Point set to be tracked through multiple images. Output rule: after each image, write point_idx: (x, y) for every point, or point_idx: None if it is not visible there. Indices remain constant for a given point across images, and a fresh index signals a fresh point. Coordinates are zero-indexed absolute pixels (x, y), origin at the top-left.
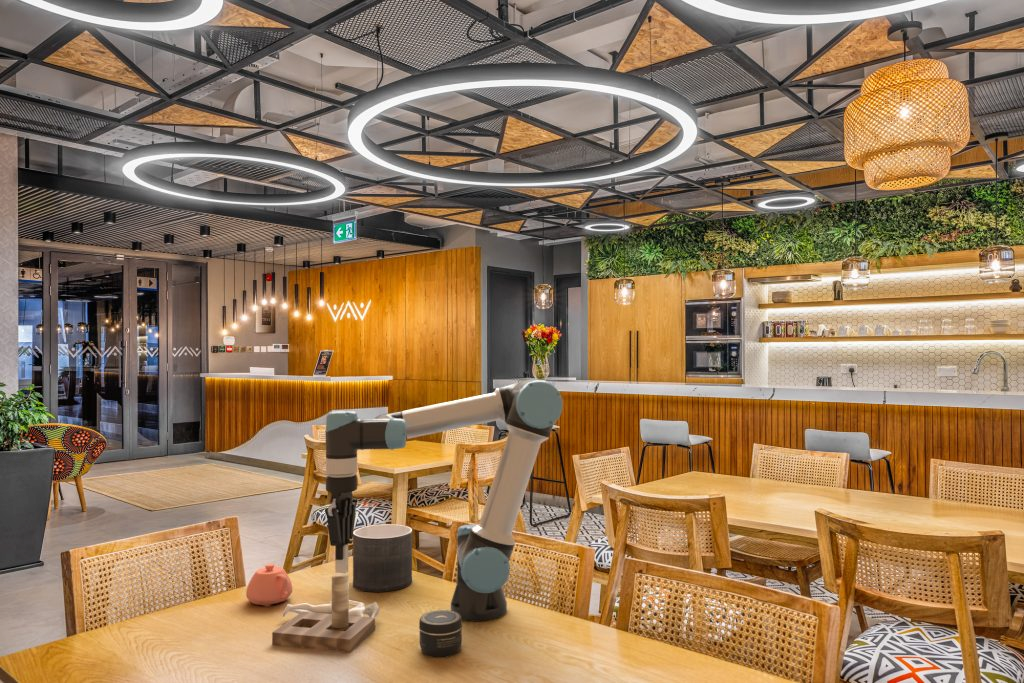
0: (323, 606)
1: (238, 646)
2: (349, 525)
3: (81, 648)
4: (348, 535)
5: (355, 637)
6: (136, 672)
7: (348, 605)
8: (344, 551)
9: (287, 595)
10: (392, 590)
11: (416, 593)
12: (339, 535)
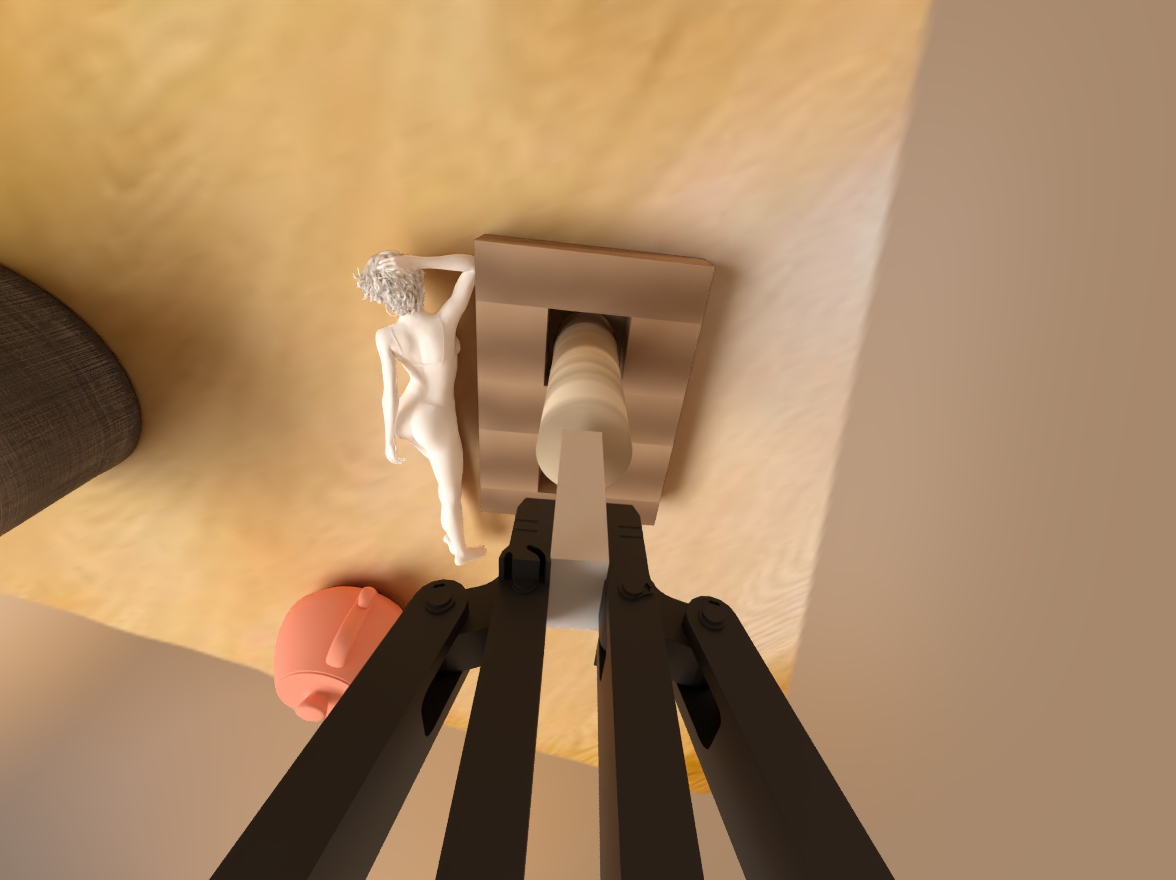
0: (451, 466)
1: (660, 564)
2: (470, 757)
3: None
4: (521, 635)
5: (665, 259)
6: (786, 658)
7: (577, 349)
8: (607, 533)
9: (367, 591)
10: (58, 302)
11: (2, 172)
12: (765, 704)
